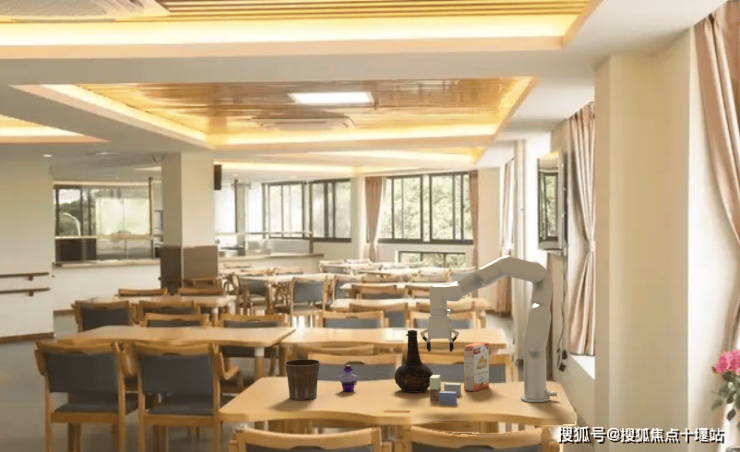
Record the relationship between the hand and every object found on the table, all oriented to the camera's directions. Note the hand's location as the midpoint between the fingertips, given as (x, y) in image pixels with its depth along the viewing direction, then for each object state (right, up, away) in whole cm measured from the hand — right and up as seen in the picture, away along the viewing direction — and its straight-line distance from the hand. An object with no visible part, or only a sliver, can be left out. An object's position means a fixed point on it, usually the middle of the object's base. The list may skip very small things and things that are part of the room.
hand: (440, 351), depth 369 cm
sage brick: (-2, -16, 0) cm, 16 cm away
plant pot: (-61, -22, +7) cm, 65 cm away
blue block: (+3, -21, -10) cm, 23 cm away
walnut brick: (-2, -21, 0) cm, 21 cm away
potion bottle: (-41, -22, +20) cm, 51 cm away
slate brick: (+6, -21, +8) cm, 23 cm away
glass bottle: (-11, -21, +19) cm, 30 cm away
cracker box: (+19, -21, +20) cm, 34 cm away
